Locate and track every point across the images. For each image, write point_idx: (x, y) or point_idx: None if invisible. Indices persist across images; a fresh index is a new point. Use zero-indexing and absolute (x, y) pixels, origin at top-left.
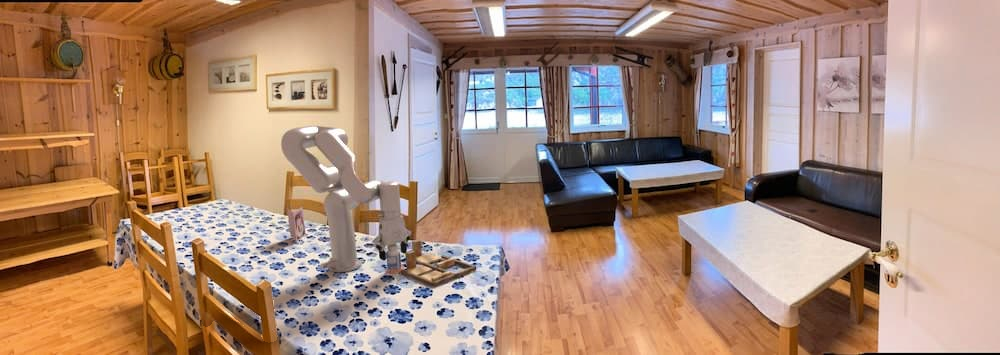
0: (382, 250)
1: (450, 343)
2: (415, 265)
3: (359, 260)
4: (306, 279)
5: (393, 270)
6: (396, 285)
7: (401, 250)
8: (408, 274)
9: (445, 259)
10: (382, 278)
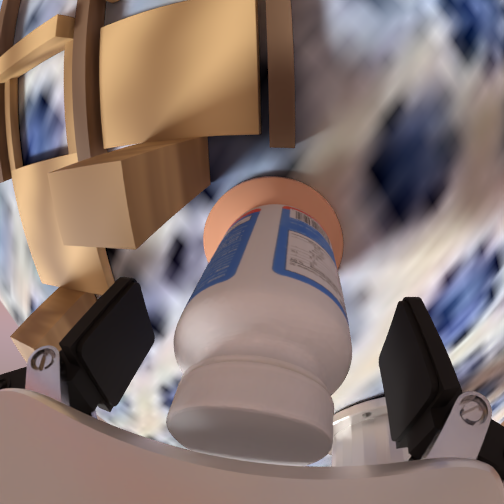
0: (463, 401)
1: None
2: (143, 143)
3: None
4: (495, 403)
5: (316, 221)
6: (440, 14)
7: (143, 344)
8: (292, 34)
9: (6, 134)
10: (433, 192)
